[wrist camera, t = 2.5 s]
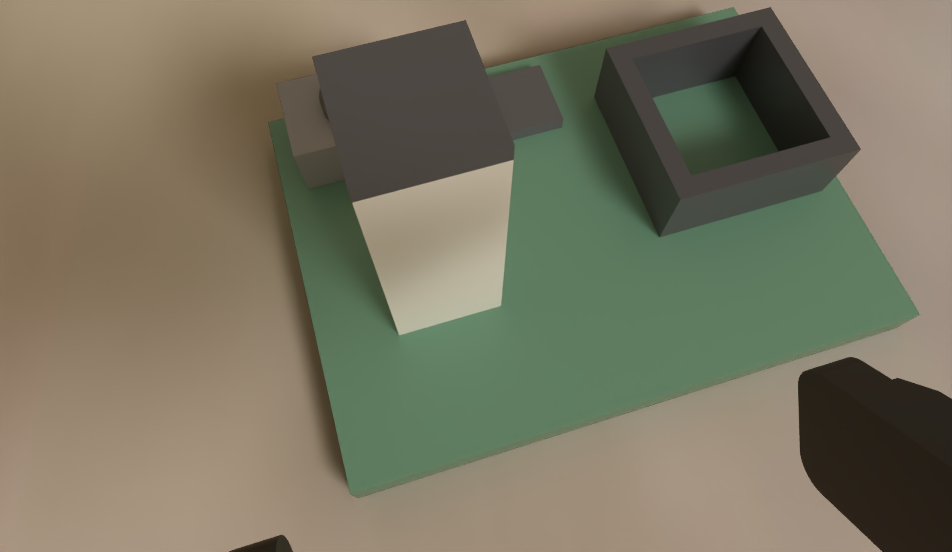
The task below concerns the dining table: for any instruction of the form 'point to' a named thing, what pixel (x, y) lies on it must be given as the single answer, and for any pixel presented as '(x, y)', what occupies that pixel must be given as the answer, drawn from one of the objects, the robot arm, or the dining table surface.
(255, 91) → the dining table surface
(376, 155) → the plug
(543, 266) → the board
